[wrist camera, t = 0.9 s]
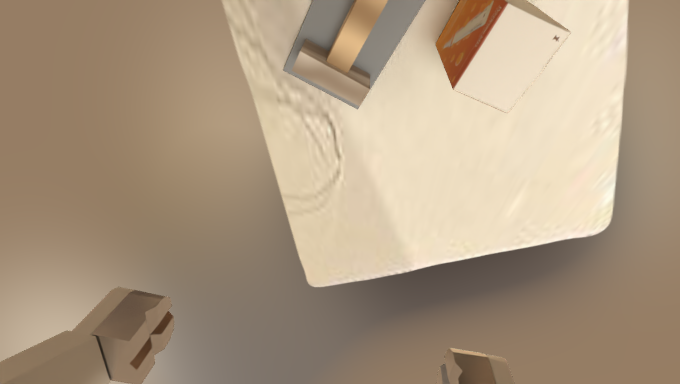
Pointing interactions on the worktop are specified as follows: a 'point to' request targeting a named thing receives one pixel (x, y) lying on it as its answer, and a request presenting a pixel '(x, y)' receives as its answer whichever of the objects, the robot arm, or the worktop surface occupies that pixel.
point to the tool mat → (380, 44)
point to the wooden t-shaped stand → (342, 54)
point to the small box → (498, 49)
